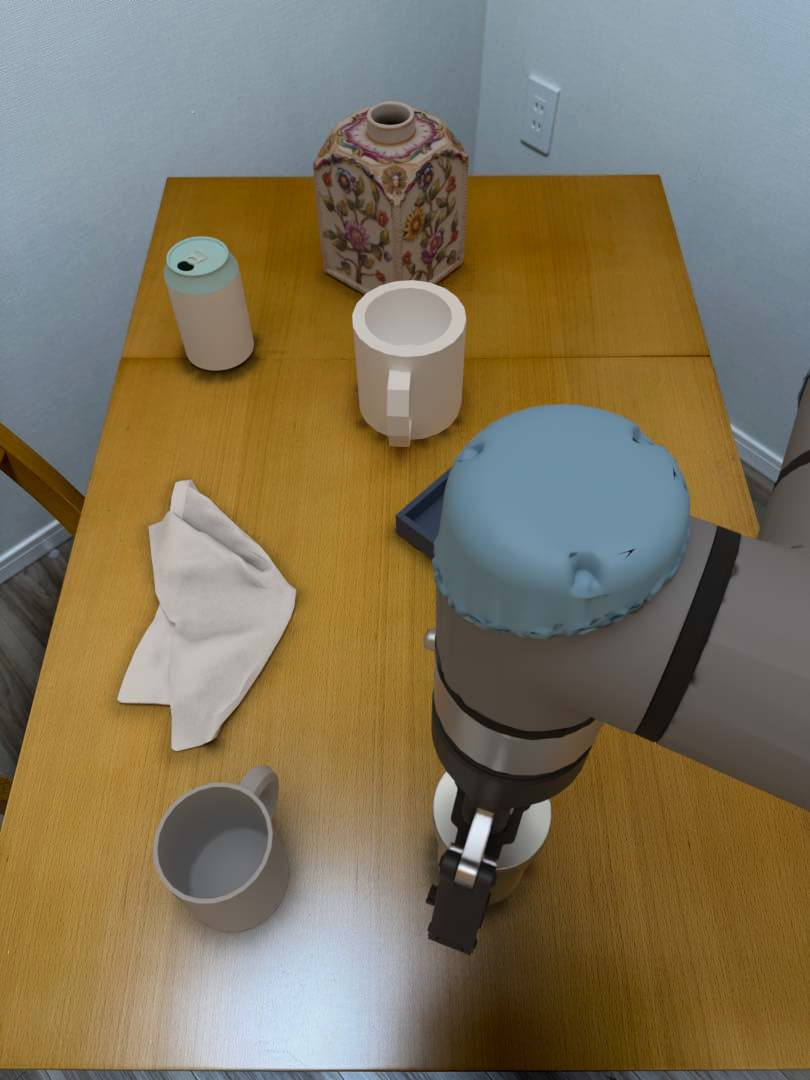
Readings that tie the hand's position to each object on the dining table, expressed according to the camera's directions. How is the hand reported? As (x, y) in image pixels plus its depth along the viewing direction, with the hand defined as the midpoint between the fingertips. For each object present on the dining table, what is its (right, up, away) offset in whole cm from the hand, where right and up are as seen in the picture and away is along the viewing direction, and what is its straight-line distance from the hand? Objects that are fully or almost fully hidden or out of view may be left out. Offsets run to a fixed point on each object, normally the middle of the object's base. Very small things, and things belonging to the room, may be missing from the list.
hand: (484, 842), depth 56 cm
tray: (+3, +20, +19) cm, 28 cm away
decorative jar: (-7, +51, +41) cm, 65 cm away
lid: (0, +4, -5) cm, 7 cm away
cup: (-16, -3, +4) cm, 17 cm away
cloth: (-21, +14, +16) cm, 30 cm away
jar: (0, -2, +3) cm, 4 cm away
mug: (-5, +33, +28) cm, 44 cm away
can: (-24, +39, +33) cm, 57 cm away
